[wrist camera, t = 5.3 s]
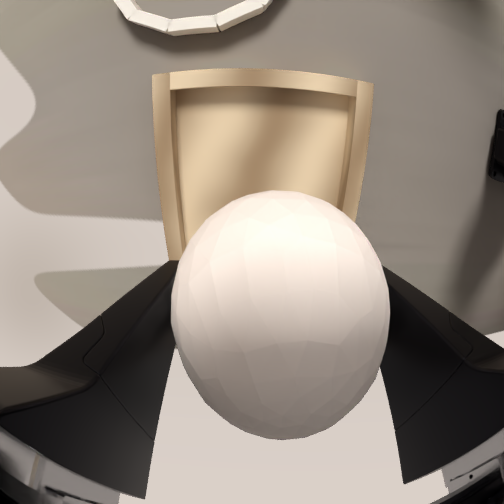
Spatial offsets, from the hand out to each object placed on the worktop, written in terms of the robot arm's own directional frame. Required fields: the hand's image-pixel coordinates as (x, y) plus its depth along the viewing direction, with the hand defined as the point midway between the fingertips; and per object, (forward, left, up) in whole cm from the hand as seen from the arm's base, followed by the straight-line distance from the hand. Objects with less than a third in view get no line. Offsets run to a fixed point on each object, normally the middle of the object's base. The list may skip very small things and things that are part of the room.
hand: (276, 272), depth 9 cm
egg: (0, 0, -2) cm, 2 cm away
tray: (0, 0, -10) cm, 10 cm away
